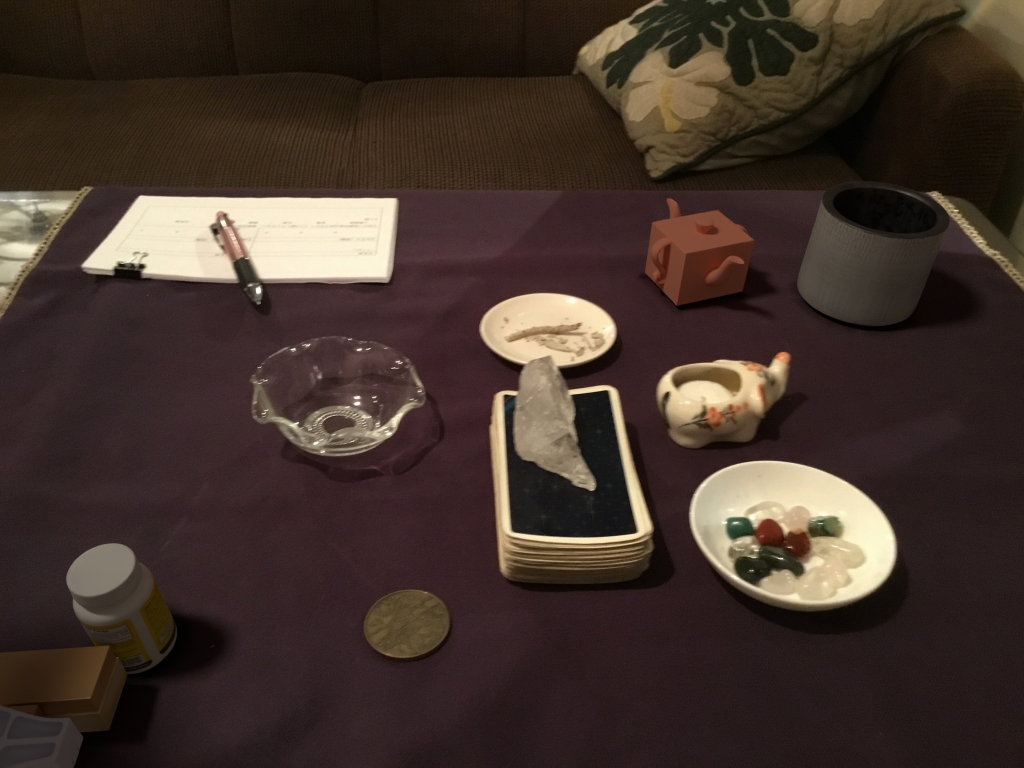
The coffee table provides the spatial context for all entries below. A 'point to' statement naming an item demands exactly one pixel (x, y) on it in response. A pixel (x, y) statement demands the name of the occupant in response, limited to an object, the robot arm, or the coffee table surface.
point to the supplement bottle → (121, 606)
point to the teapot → (698, 255)
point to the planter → (871, 252)
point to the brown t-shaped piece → (64, 684)
